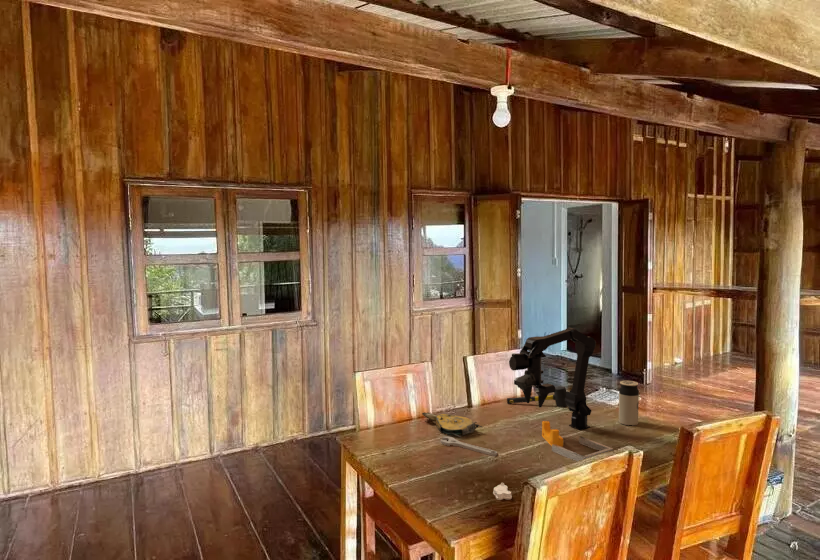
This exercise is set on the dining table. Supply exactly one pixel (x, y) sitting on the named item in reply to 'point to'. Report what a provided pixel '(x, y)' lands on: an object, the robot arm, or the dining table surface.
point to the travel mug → (628, 403)
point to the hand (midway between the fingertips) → (534, 405)
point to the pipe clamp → (551, 434)
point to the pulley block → (452, 424)
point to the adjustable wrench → (467, 446)
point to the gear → (502, 492)
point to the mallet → (558, 397)
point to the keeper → (582, 441)
